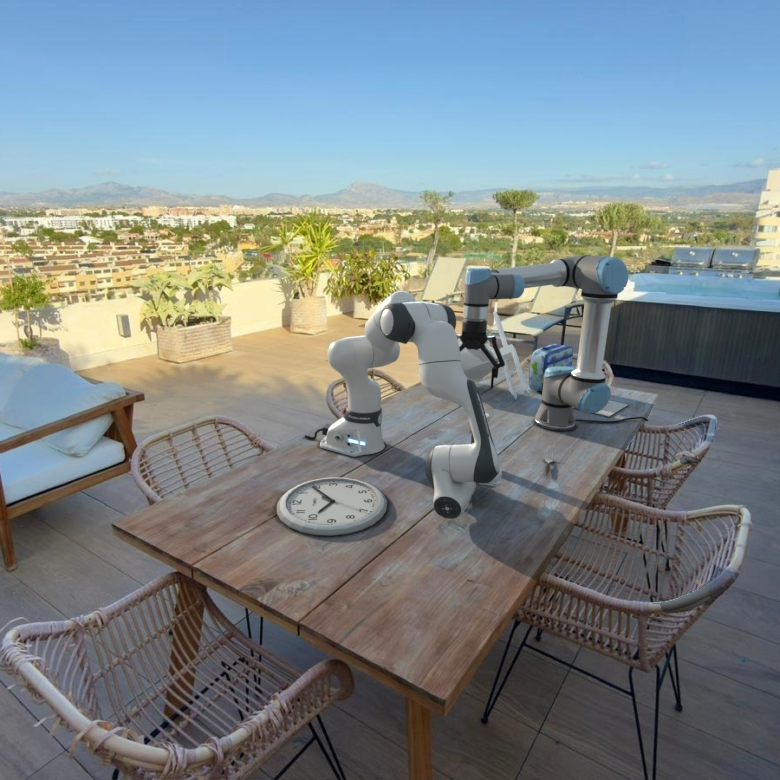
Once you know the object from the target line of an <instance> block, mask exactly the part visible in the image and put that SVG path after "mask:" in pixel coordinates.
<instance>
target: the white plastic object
mask: <svg viewBox="0 0 780 780" xmlns="http://www.w3.org/2000/svg"><path fill="white" fill-rule="evenodd" d="M492 315H493V319H494V321H495V324H496V325H495V326H496V328H497V332H498V335H499V338H500V342H501V345H502V347H500V348H499V350H500V352H501V355H502V357H503V360H504V362H505V366H504V367H502V370H503V373H504V376H505V380H506V383H507V386H508V390H509V393H510V394H511V395H512V397H513V398H514V399H515V400H517V392H516V391H517V390H516V388H515V385H514V381H513V378H512V375H511V371H510V369H509V365H508V361H510V360H513V363H514V366H515V369H516V372H517V376H518V380H519V382H520V385H521V389H522V391H523V393H524V395H525V396H526V397H528V396H531V395H530V390H529V388H528V387H529V386H528V384H527V381H526V378H525V375H524V371H523V369H522V368H523V367H522V366H521V362H520V359H519V355H518V352H517V349H516V347H515V346H514V345H513V343H511V344H508V341H507V337H506V334H505V331H504V328H503V325H502V321H501V318H500V315H499V314H498V312H497V311H496V310H495V311H492ZM458 344H459V347H460V345H461V344H462V341H461V340H460V338H459V339H458ZM484 345H485V346H486V347H487V349H488V350H489V352H490V353H491V354H492V356H493V357H494V358H495V360H496V361H497V362H498V363H499V360H498V358H497V355H496V353H495V350H494V349H493V347H491V346H490V343H488V342H486V343H485V344H484ZM460 356H461V365H462V369H463V372H464V374H465V375H466V377H467V378H468V379H469V380H471V381H473V382H474V383H475V384H477V383H480V382H482V381H484V378H485V377H486V376H487V375H489V374H490V373H492V366H493V364H492V363H491V362H490V360H489V359H488V358H487V356H486V355H485V354H484V352H483V351H482V350H481V349H478V350H474V349H467V348H466V347H465V348H464V349H463V350H462V351H461V352H460Z"/></svg>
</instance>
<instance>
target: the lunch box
mask: <svg viewBox="0 0 780 780" xmlns="http://www.w3.org/2000/svg"><path fill="white" fill-rule="evenodd" d="M573 358H574V349H573V346H571V345H565V344H558V343H553V344H548V345H546V346H542V347H540V348H537V349H535V350H534V351H533V352H532V354H531V357H530V362H529V374H528V375H529V376H528V387H529V388H528V389H530V390H534V391H539V392H542V391H543V380H544V374H545V370H546V369H547V368H549V367H556V366H567V367H573Z"/></svg>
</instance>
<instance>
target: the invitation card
mask: <svg viewBox="0 0 780 780" xmlns="http://www.w3.org/2000/svg"><path fill="white" fill-rule="evenodd" d="M628 406H629V404H627V403H623V402H618V401H614V400H610V399H609V401H608V403H607V404H606V406H605V407H603V409H602V410H600V411H599V412H596V413H595V414H596V415H600V416H604V417H608V418H609V417H611V416H613V415H614V414H616V413H617V412H619V411H621V410H623V409H624V408H626V407H628ZM575 410H578V409H577V408H575Z"/></svg>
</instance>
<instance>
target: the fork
mask: <svg viewBox="0 0 780 780" xmlns="http://www.w3.org/2000/svg"><path fill="white" fill-rule="evenodd" d="M552 452H553V453H552ZM554 455H555V452H554V451H551V452H550V453H548V452H546V453H545V459H544V461H545V462H547V464H546V466H545V475H546V476H548V473H549V471H550V468H551V467H550V464H551V463H553V462H554V458H555V456H554Z"/></svg>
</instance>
